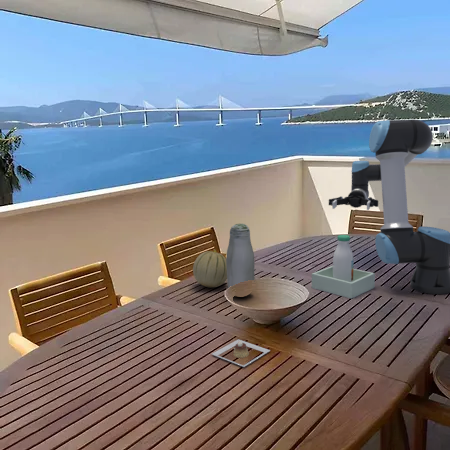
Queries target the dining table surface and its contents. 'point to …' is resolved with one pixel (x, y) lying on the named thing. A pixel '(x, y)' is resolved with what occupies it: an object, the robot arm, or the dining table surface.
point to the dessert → (240, 350)
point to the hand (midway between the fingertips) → (350, 206)
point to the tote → (343, 282)
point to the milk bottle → (343, 260)
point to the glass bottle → (239, 255)
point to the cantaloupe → (210, 269)
